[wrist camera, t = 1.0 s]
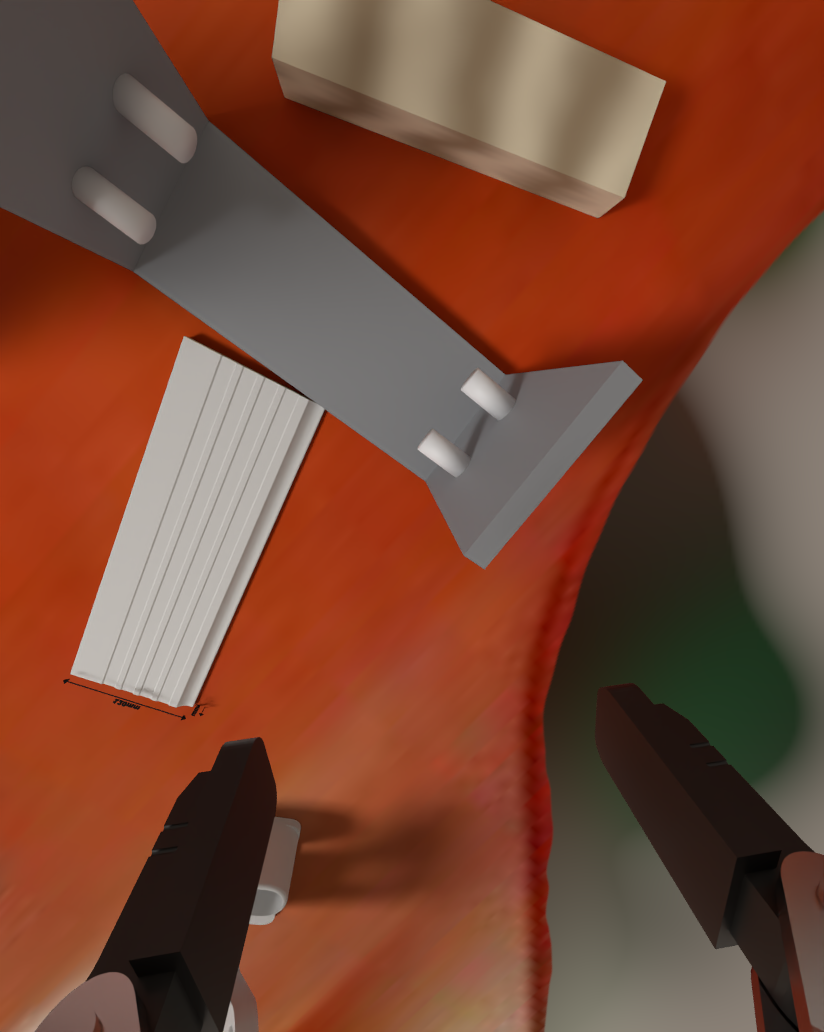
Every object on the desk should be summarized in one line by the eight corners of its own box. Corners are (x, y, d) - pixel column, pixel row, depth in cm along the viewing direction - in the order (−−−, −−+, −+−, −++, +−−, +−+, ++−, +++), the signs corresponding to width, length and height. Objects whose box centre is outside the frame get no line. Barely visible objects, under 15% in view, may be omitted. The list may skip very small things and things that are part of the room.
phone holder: (211, 805, 41) (94, 1096, 24) (306, 817, 43) (258, 1097, 26) (188, 910, 46) (77, 1216, 29) (274, 918, 48) (217, 1211, 31)
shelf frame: (126, 264, 26) (-220, 90, 11) (198, 117, 24) (-104, -339, 9) (435, 486, 33) (484, 569, 18) (512, 385, 31) (642, 380, 16)
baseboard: (344, 416, 31) (193, 338, 29) (341, 418, 28) (173, 333, 26) (211, 705, 38) (82, 663, 36) (198, 729, 35) (57, 685, 33)
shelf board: (285, 101, 25) (271, 57, 21) (303, -22, 23) (290, -92, 20) (595, 220, 28) (624, 197, 25) (629, 120, 26) (666, 81, 23)
